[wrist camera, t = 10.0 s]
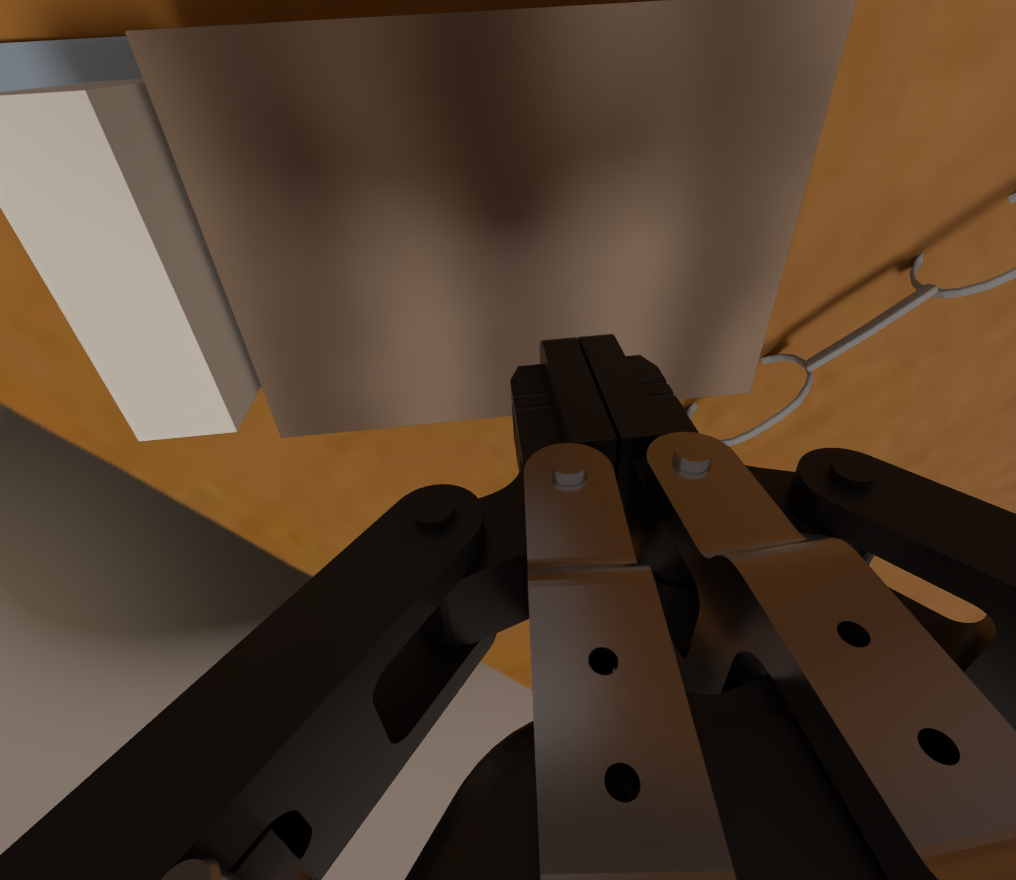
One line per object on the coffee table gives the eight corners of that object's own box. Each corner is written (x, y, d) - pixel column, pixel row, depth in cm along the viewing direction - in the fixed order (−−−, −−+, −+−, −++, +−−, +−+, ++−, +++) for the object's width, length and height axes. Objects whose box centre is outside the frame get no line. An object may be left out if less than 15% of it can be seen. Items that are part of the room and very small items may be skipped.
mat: (171, 33, 16) (167, 33, 15) (284, 363, 22) (283, 366, 22) (-79, 47, 15) (-87, 48, 15) (112, 378, 22) (109, 382, 22)
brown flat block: (779, -1, 17) (859, -11, 13) (708, 345, 24) (750, 392, 21) (188, 32, 16) (124, 30, 12) (303, 382, 23) (281, 437, 20)
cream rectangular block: (85, 90, 11) (-64, 99, 11) (237, 432, 17) (139, 441, 16) (191, 75, 16) (88, 81, 16) (282, 344, 21) (206, 351, 21)
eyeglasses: (1049, 152, 21) (1159, 175, 18) (1074, 427, 31) (1146, 473, 28) (655, 414, 26) (685, 466, 23) (785, 573, 37) (819, 624, 34)
